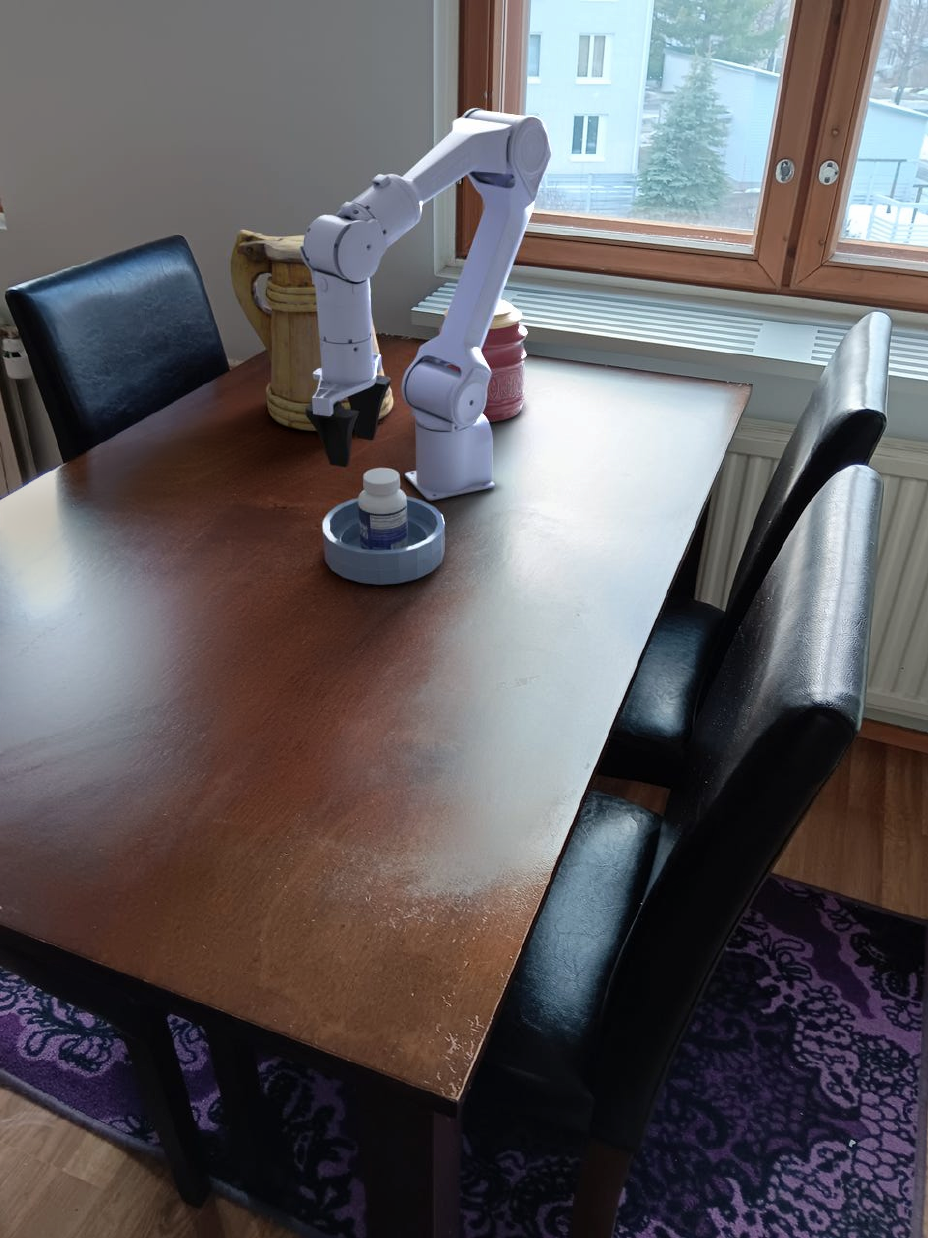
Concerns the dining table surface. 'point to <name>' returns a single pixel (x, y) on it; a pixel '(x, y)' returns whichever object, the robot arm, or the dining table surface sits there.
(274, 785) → the dining table surface
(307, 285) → the tankard
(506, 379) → the kitchen canister
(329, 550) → the bowl
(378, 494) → the pill bottle
